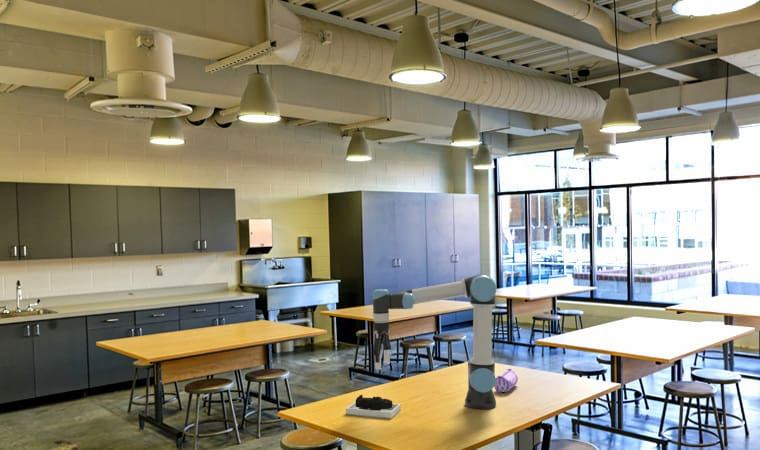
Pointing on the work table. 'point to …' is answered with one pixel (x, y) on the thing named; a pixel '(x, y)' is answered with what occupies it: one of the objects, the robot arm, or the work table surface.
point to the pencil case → (506, 381)
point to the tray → (371, 413)
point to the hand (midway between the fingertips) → (382, 366)
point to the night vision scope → (373, 403)
